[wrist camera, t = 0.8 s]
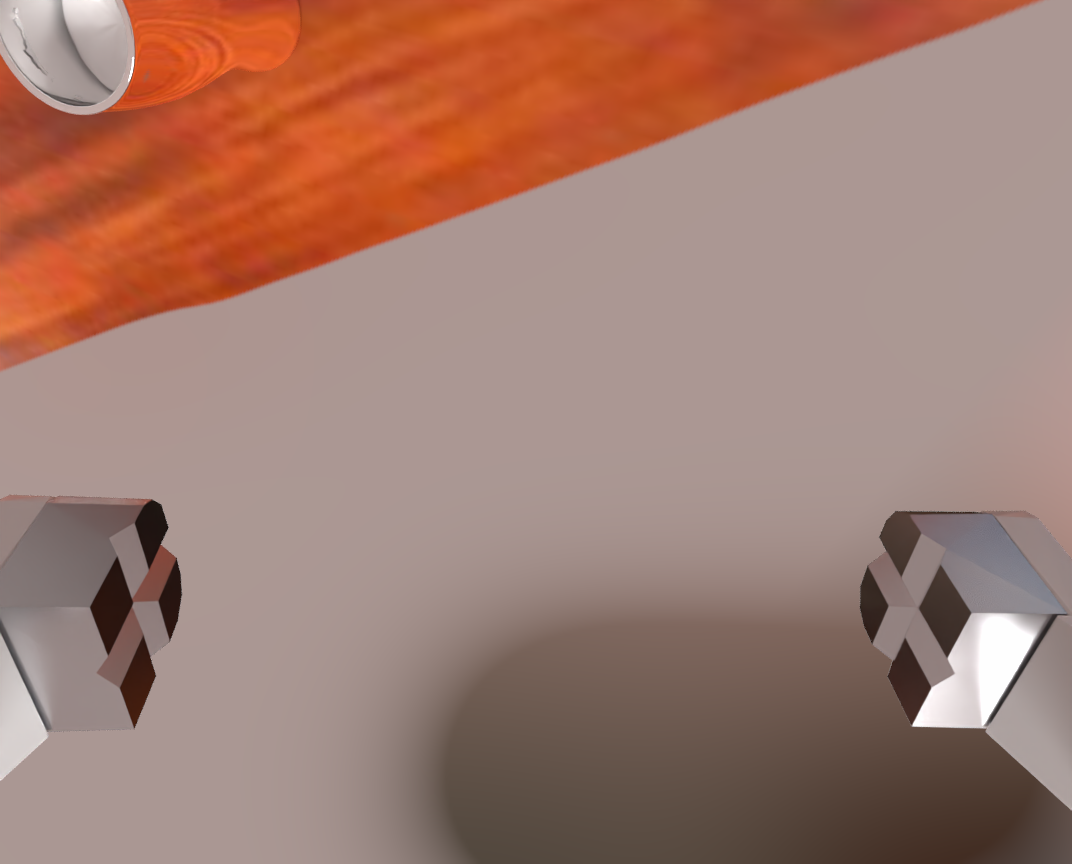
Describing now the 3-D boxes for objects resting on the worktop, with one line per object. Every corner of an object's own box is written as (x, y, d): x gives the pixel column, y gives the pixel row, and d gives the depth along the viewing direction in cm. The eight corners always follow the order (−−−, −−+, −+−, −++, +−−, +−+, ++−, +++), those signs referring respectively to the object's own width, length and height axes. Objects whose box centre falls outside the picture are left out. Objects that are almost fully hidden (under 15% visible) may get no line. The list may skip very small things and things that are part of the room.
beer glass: (303, -60, 43) (118, -72, 30) (315, 83, 47) (153, 127, 34) (182, -65, 44) (-45, -79, 32) (203, 75, 48) (6, 114, 35)
